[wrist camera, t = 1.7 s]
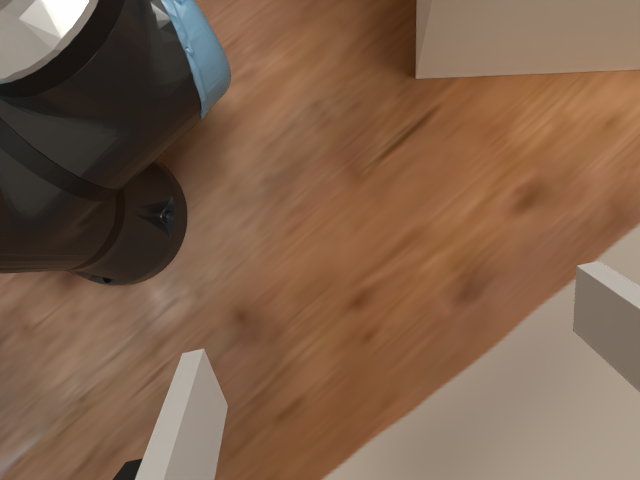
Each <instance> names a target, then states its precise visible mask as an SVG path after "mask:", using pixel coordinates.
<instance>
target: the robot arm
mask: <svg viewBox="0 0 640 480" xmlns="http://www.w3.org/2000/svg"><path fill="white" fill-rule="evenodd" d="M230 82H231V69H230V65H229V62H228V59H227V57H226V54H225V52H224V50H223V48H222V46H221V44H220V42H219V40H218V38H217V37H216V35H215V33H214V31H213V30H212V28H211V26H210V24H209V23H208V21H207V19H206V18H205V16H204V15H203V13H202V11H201V10H200V8H199V7H198V5H197V4H196V2H195V1H194V0H0V273H20V272H41V271H68V272H71V273H73V274H76V275H78V276H81V277H83V278H85V279H88V280H91V281H93V282H97V283H101V284H107V285H122V284H132V283H138V282H141V281H144V280H147V279H149V278H151V277H153V276H154V275H156V274H158V273H159V272H160V271H162V270H163V269H164V268H165V267H166V266H167V265H168V264H169V263H170V262H171V261H172V259H173V258H174V257H175V255H176V254H177V252H178V250H179V248H180V246H181V244H182V241H183V238H184V235H185V231H186V225H187V207H186V201H185V197H184V194H183V191H182V189H181V187H180V185H179V183H178V181H177V180H176V178H175V177H174V176H173V174H172V173H171V172H170V171H169V170H168V169H167V168H166V167H165V166H163V165H162V164H161V163H159V162H157V161H156V159H157V158H158V157H159V156H160V155H161V154H162V153H164V152H165V151H166V150H167V149H168V148H169V147H170V146H171V145H173V144H174V143H175V142H176V141H177V140H178V139H179V138H181V137H182V136H183V135H184V134H185V133H186V132H187V131H188V130H190V129H191V128H192V127H193V126H194V125H195V124H196V123H198V122H199V121H201V120H202V119H203V118H205V116H206V114H207V111H208V110H209V109H210V108H211V107H212V106H213V105H214V104H215V103H216V102H217V101H218V100H219V99H220V98H221V97H222V96H223V95H224V94H225V92H226V91H227V89H228V88H229V85H230ZM573 331H574V332H575V333H576V334H577V335H578V336H580V337H581V338H582V339H583V340H584V341H585V342H586V343H587V344H588V345H589V346H590V347H592V348H593V349H594V350H595V351H596V352H597V353H598V354H599V355H600V356H601V357H602V358H603V359H604V360H606V361H607V362H608V363H609V364H610V365H611V366H612V367H613V368H614V369H615V370H616V371H617V372H618V373H620V374H621V375H622V376H623V377H624V378H625V379H626V380H627V381H628V382H629V383H630V384H631V385H633V386H634V387H635V388H636V389H637V390H638V391H639V392H640V286H638V285H637V284H635V283H634V282H632V281H630V280H629V279H627V278H626V277H624V276H622V275H621V274H619V273H617V272H616V271H614V270H613V269H611V268H610V267H608V266H606V265H605V264H603V263H601V262H600V261H596V262H592V263H587V264H583V265H578V266H577V270H576V288H575V305H574V323H573ZM227 408H228V405H227V403H226V400H225V398H224V396H223V393H222V391H221V388H220V386H219V384H218V381H217V379H216V376H215V374H214V372H213V369H212V367H211V365H210V362H209V360H208V357H207V355H206V353H205V350H204V349H200V350H195V351H191V352H186V353H182V356H181V359H180V361H179V364H178V367H177V369H176V372H175V375H174V377H173V380H172V383H171V385H170V388H169V391H168V393H167V396H166V399H165V401H164V404H163V406H162V409H161V412H160V414H159V417H158V420H157V422H156V425H155V428H154V430H153V433H152V436H151V438H150V441H149V444H148V446H147V449H146V452H145V454H144V457H143V459H138V460H134V461H129V462H126V463H125V464H124V465H123V467H122V468H121V469H120V471H119V472H118V473H117V475H116V476H115V477H114V478H113V480H214V479H215V473H216V468H217V463H218V457H219V452H220V446H221V441H222V435H223V430H224V424H225V419H226V414H227Z"/></svg>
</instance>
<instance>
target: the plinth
mask: <svg viewBox="0 0 640 480" xmlns="http://www.w3.org/2000/svg"><path fill="white" fill-rule="evenodd" d="M622 70H640V0H417V3H416V79H426V78H450V77H475V76H499V75H524V74H548V73H573V72H597V71H622Z"/></svg>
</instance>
